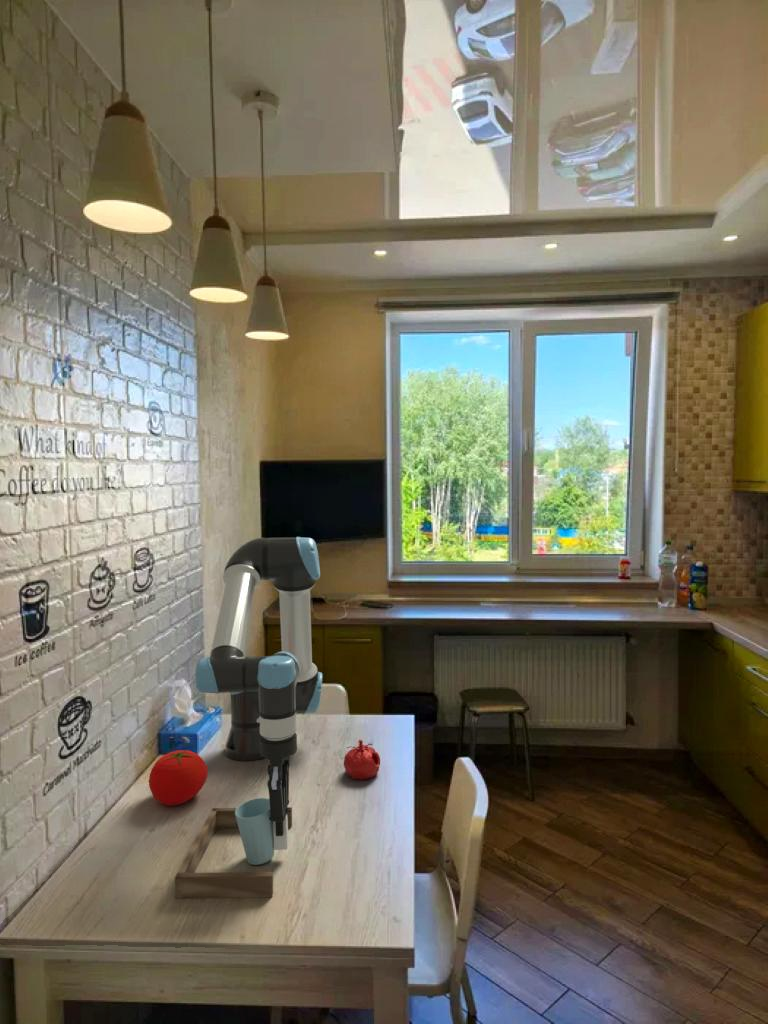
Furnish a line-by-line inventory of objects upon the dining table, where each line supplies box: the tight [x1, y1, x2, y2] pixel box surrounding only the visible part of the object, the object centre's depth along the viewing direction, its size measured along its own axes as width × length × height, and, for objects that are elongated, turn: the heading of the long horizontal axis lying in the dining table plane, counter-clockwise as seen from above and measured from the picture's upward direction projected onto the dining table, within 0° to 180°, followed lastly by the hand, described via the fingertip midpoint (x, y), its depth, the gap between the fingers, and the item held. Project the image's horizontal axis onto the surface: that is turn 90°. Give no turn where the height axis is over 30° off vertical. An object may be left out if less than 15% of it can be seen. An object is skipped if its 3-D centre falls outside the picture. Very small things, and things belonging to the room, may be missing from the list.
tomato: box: [148, 749, 209, 807], centre depth 145 cm, size 13×14×12 cm
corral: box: [174, 806, 293, 899], centre depth 122 cm, size 24×18×4 cm
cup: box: [235, 797, 275, 866], centre depth 121 cm, size 8×8×10 cm
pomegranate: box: [343, 739, 381, 781], centre depth 157 cm, size 10×10×9 cm
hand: (281, 847), depth 121 cm, fingers closed
